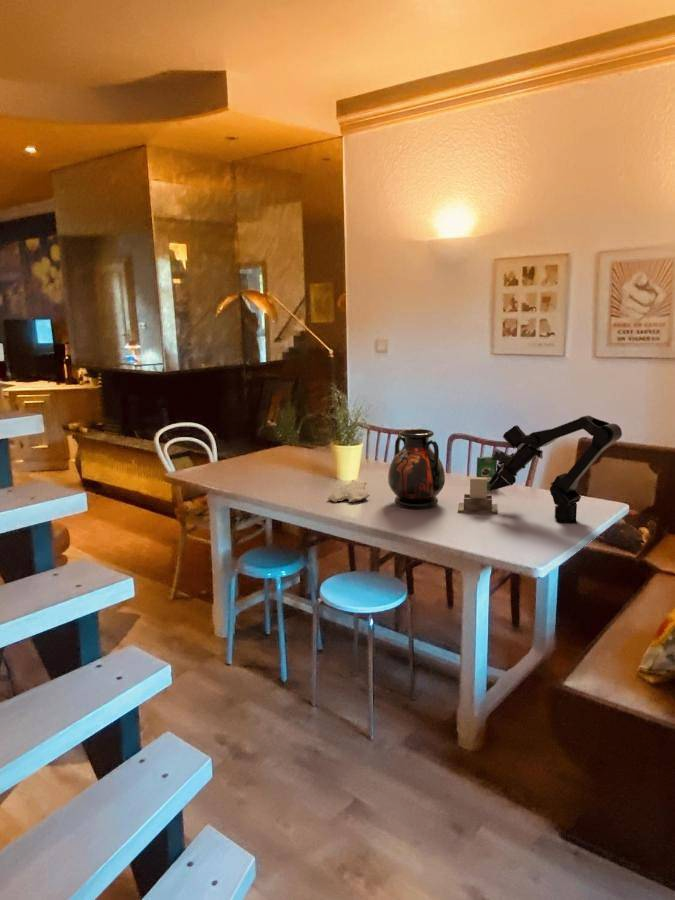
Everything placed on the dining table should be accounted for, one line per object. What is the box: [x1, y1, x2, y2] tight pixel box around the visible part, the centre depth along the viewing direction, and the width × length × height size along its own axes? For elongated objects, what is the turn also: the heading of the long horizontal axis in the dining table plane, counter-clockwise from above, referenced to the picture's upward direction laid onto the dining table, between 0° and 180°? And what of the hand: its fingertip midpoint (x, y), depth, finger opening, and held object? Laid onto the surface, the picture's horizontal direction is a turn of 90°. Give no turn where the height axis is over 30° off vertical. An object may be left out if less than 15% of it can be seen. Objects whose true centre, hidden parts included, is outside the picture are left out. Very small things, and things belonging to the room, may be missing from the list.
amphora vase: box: [387, 428, 446, 510], centre depth 251 cm, size 22×22×28 cm
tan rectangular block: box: [469, 476, 488, 499], centre depth 244 cm, size 6×3×11 cm, turn 78°
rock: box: [327, 479, 371, 503], centre depth 264 cm, size 21×5×15 cm
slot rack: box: [457, 493, 498, 515], centre depth 245 cm, size 14×10×5 cm
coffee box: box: [475, 455, 498, 489], centre depth 273 cm, size 8×3×13 cm, turn 106°
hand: (489, 486), depth 242 cm, fingers open, 9 cm apart
